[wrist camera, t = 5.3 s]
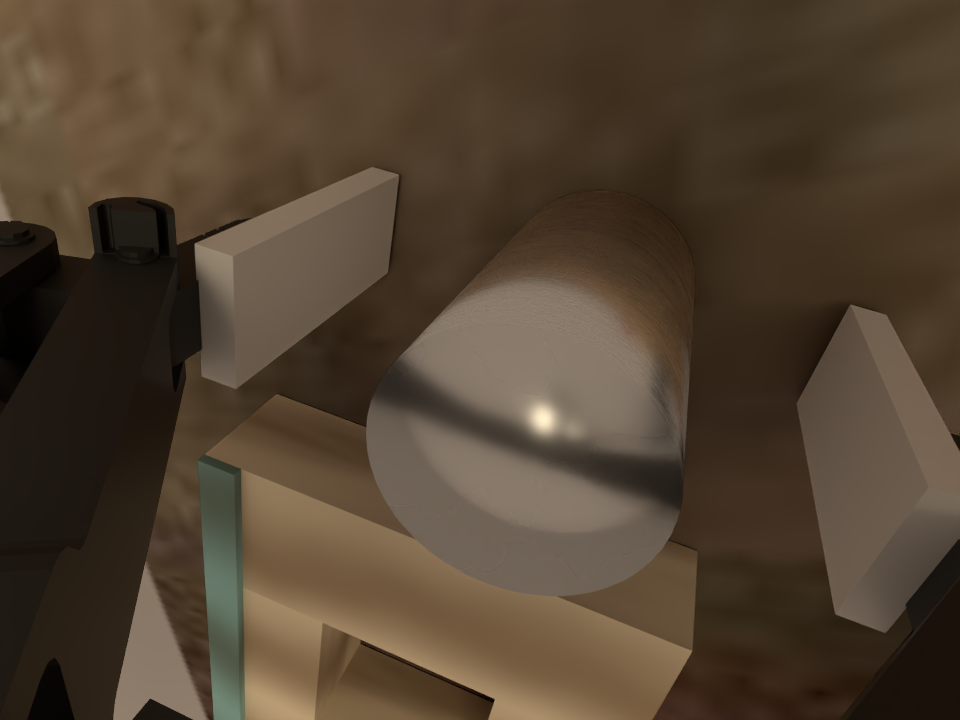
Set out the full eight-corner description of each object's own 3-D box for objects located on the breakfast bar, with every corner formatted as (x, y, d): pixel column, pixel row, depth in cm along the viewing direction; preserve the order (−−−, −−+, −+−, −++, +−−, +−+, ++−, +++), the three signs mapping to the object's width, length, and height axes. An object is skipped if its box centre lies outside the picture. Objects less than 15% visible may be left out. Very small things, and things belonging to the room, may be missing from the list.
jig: (276, 393, 21) (197, 460, 18) (697, 551, 19) (691, 661, 15) (271, 675, 30) (216, 755, 26) (561, 812, 27) (539, 918, 24)
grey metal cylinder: (533, 165, 15) (388, 276, 8) (727, 223, 14) (741, 398, 8) (490, 333, 17) (350, 526, 11) (655, 391, 17) (617, 638, 10)
